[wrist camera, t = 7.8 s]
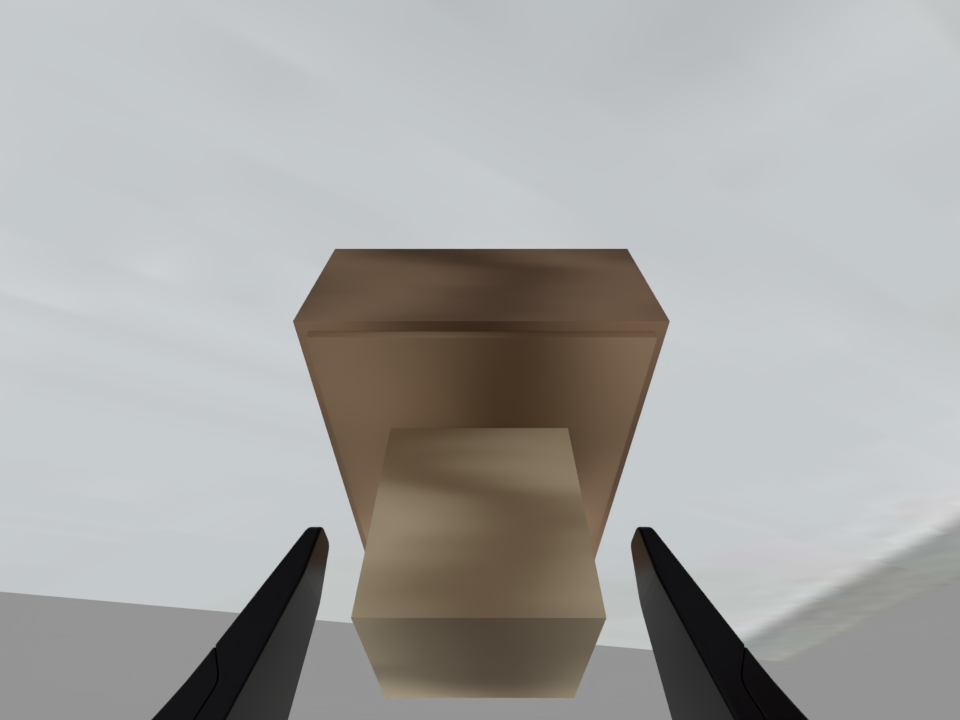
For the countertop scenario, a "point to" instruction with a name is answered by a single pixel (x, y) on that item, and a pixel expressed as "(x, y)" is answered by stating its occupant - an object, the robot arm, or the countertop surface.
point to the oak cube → (479, 567)
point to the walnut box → (482, 354)
